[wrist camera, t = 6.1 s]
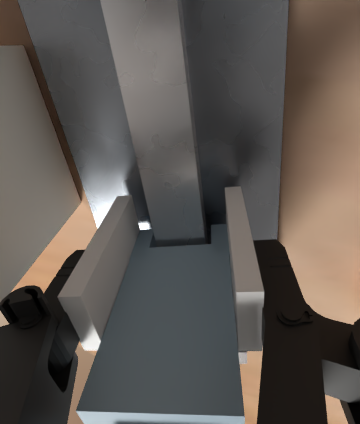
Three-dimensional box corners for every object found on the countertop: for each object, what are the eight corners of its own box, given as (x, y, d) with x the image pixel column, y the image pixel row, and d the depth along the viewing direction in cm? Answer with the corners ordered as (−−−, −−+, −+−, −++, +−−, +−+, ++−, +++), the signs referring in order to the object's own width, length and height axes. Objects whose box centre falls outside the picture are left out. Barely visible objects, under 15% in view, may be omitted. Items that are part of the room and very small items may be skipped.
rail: (-29, -177, 9) (-126, -268, 6) (293, -278, 8) (339, -450, 5) (138, 324, 22) (128, 362, 19) (269, 321, 20) (279, 363, 18)
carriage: (139, 229, 15) (64, 437, 7) (226, 223, 14) (249, 446, 6) (162, 316, 18) (128, 518, 11) (232, 314, 18) (251, 529, 10)
